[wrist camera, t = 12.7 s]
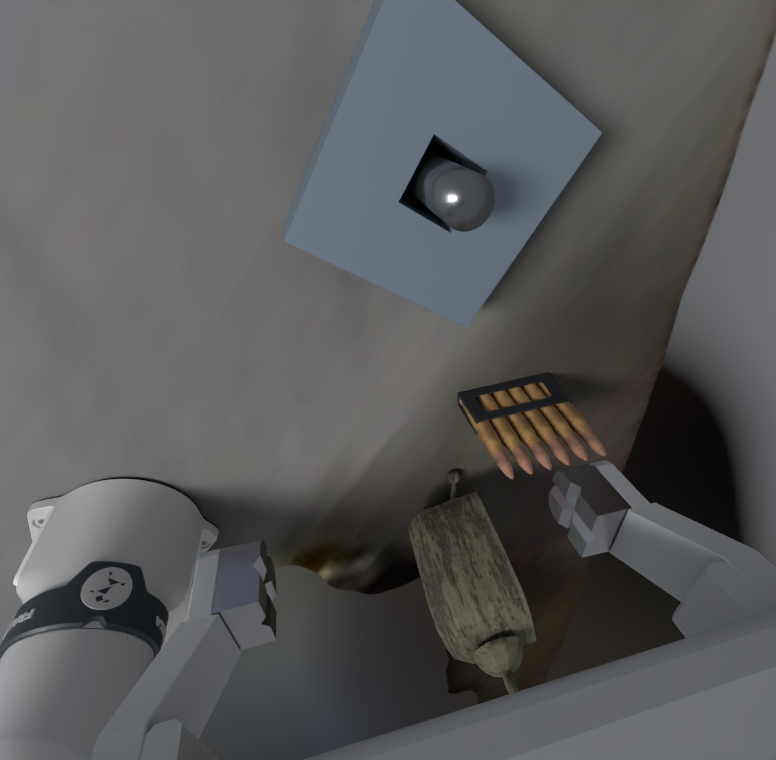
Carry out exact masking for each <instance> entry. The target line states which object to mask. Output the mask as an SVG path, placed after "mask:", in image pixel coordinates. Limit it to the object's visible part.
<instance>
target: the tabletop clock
mask: <svg viewBox="0 0 776 760" xmlns="http://www.w3.org/2000/svg"><path fill="white" fill-rule="evenodd" d="M459 479H460V475H459V474H458V472H456V471H451V472H449V473H448V475H447V480H448V481H449V482H450V483H452V484H451V494H450V500H449V501H448V502H445V503H442V504H439V505H437V506H434V507H429V506H427V507H425V508H424V510H423V511H421V512H418V514H417V515H416V516H415V518H414V519H413V520H412V521H411V523H410V524H409V525H408V530H409V535H410V539H411V543H412V547H413V551H414V554H415V558H416V562H417V566H418V569H419V573H420V577H421V580H422V584H423V588H424V591H425V595H426V598H427V601H428V605H429V608H430V612H431V615H432V618H433V621H434V624H435V626H436V628H437V631H438V632H439V635H440V637H441V638H442V640H443V642H444V644H445V646H446V647H447V649H448V651H449V652H450V654H451V655H452V656H453V658H454V659H456V660H461V661H465V662H469V663H473V664H474V663H477V665H478V666H479V667H480V668H481V669H482V670H483V671H484V672H486V673H488V674H489V675H491V676H494V677H503V680H504V683H505V685H506V688H507V691H508V693H509V694H513V693H516V692H519V689H518V686H517V683H516V681H515V678H514V675H513V672H515V671H516V670H517V669H518V668H519V667H520V665H521V662H522V659H523V654H524V647H523V646H524V645H527V644H530V643H533V642H535V641H536V635H535V629H534V626H533V622H532V618H531V614H530V610H529V607H528V604H527V601H526V598H525V596H524V593H523V591H522V588H521V586H520V584H519V581H518V579H517V577H516V574H515V572H514V570H513V568H512V565H511V563H510V561H509V559H508V557H507V554H506V552H505V550H504V548H503V546H502V544H501V541H500V539H499V537H498V535H497V533H496V531H495V528H494V526H493V524H492V522H491V520H490V518H489V516H488V514H487V512H486V510H485V508H484V506H483V503H482V501H481V499H480V497H479V496H478V494H477V492H476V491H475V492H472V493H469V494H467V495H464V496H461V497H458V498H457V493H456V483H458V482H459Z"/></svg>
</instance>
